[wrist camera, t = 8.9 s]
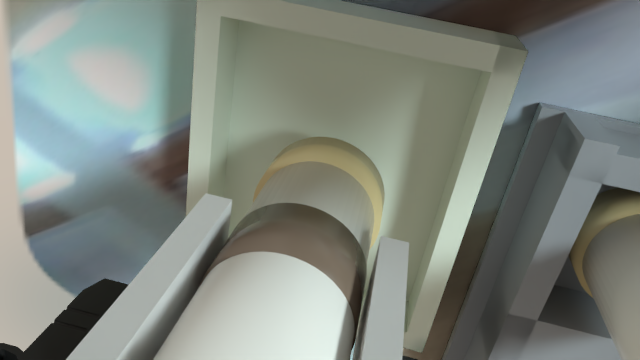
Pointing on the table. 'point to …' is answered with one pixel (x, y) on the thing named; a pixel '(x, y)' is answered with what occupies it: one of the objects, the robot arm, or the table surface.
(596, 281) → the fuse
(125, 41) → the table surface
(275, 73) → the parts tray
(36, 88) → the table surface
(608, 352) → the grey divided tray
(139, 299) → the robot arm
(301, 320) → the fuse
